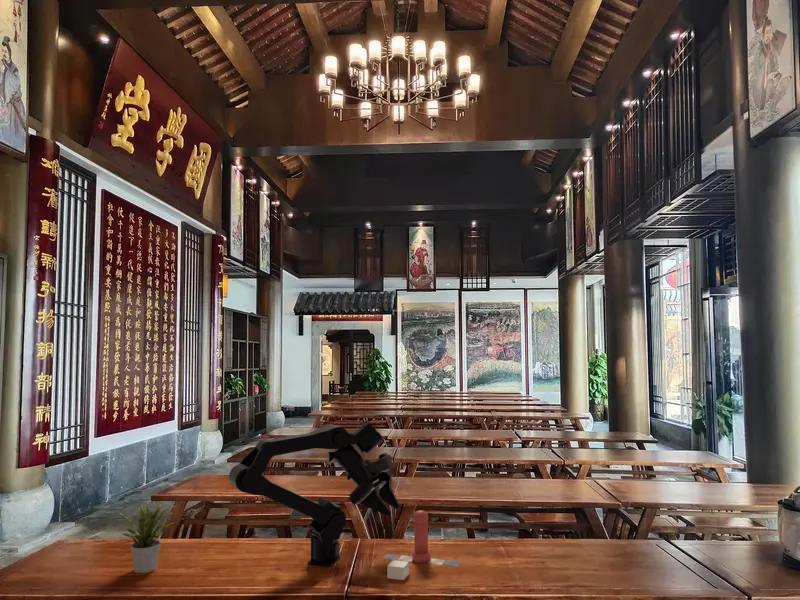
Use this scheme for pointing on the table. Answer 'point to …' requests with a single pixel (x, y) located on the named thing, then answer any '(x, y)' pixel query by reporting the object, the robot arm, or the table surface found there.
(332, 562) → the robot arm
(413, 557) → the pawn
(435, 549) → the table surface
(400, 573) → the white cube
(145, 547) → the house plant
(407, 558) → the track board
